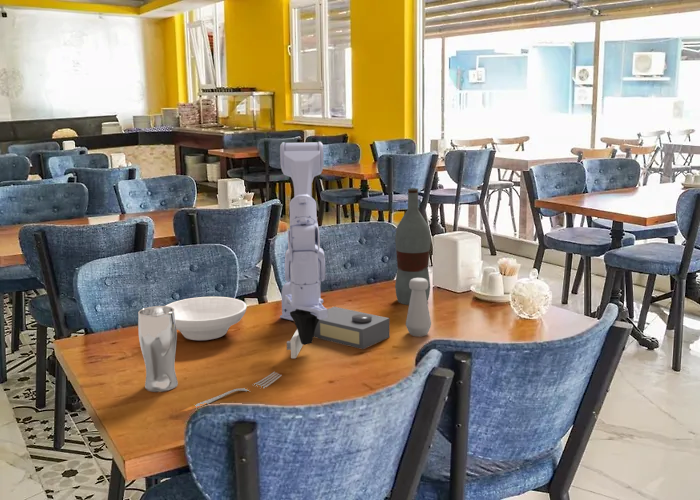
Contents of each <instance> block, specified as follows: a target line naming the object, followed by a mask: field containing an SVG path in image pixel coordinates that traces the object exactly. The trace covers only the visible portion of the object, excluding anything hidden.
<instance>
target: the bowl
mask: <svg viewBox="0 0 700 500" xmlns="http://www.w3.org/2000/svg"><path fill="white" fill-rule="evenodd" d="M165 306H168V307H172V308H173V309H174V314H175V320H176V328H177V331H179V332H180V333H181V334H182V336H183V337H184V338H185V339H187V340H192V341H209V340H214V339H219V338H221V337H223V336H225V335H226V334H227V332H228V331H229V329H230V327H231V326H233V325H236V324H238V323H239V322H240V321H241V320H242V318H243V317H244V315H245V313H246V312H247V303H246V302H245V301H243V300H241V299H237V298H234V297H229V296H228V297H226V296H201V297H200V296H199V297H198V296H197V297H191V298H184V299H181V300H177V301H173V302H170V303H168V304H166V305H165Z"/></svg>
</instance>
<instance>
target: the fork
mask: <svg viewBox="0 0 700 500" xmlns="http://www.w3.org/2000/svg"><path fill="white" fill-rule="evenodd" d="M280 377H282V374H280V373H278V372H276V371H273V372H272V373H270V374H269V375H267V376H265V377H264V378H262V379H260V380H258V381H256V382H255V383H253V384H254V385H255V384H256V386H257V385H259V386H261V388H262V386H263V389H266V388H267V387H269V386H271V384H273V383H274V382H276V381H277V380H279V378H280ZM254 385H253V386H254ZM256 386H255V387H256ZM257 387H258V386H257ZM265 387H266V388H265ZM245 388H246V387H243V388H235V389H232V390H229V391H226V392H225V393H221V394H218V395H217V396H214V397H212V398H210V399H206V400H204V401H201V402H199V403H196V405H195V404H194V405H195V406H196V407H197V406H200V404H204V403H207V405H209V404H211V403H213V402H215V401H217V400H219V399H221V398H224V397H226V396H229V395H230V394H232V393H235V392H238V391H239V392H241V391H242V392H247V391H249V390H250V389H249V390H247V389H248V388H247V389H245ZM249 392H250V391H249Z"/></svg>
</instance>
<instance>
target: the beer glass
mask: <svg viewBox="0 0 700 500" xmlns="http://www.w3.org/2000/svg"><path fill="white" fill-rule="evenodd" d="M137 314H138V315H137V316H138V317H137V318H138V321H137V322H138V323H137V324H138V325H137V326H138V330H137V331H138V340H139V346H140V349H141V353H142V357H143V361H144V365H145V381H144V388H145V389H146V391H148V392H152V393H153V392H154V393H163V392H167V391H171V390H173V389H176V388H177V387H178V384H179V382H178V379H177V374H176V368H175V361H176V360H175V359H176V350H177V341H178V340H177V339H178V332H177V331H178V330H177V328H176V320H175V314H174V309H173V308H172V307H168V306H166V305H154V306H149V307H148V306H147V307H144V308H142V309H140V310H139V311H138V312H137Z"/></svg>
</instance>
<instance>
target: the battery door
mask: <svg viewBox="0 0 700 500" xmlns="http://www.w3.org/2000/svg"><path fill="white" fill-rule="evenodd" d="M303 346H304V345H303V344H301V341H300V337H299V334H298V330H297V329H296V330H295V332H294V334H293V336H292V337H291V339H290V340H287V341H286V351H288V350H289V351H290V358H291V359H296V358H297V357H298V355H299V354H300V351H301V350H302V347H303Z"/></svg>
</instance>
